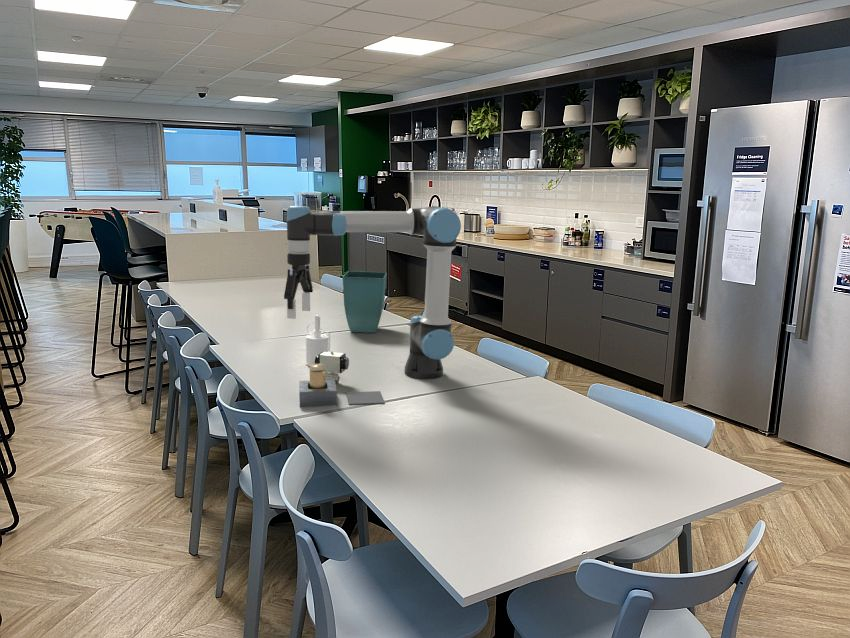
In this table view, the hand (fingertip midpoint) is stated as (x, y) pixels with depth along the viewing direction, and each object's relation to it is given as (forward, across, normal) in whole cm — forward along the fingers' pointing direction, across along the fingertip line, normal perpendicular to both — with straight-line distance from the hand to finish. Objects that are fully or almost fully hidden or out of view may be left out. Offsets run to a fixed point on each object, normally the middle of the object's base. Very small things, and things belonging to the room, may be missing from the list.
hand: (299, 314), depth 217 cm
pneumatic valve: (+27, -12, +8) cm, 31 cm away
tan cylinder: (+27, +8, +10) cm, 30 cm away
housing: (+27, +8, +10) cm, 30 cm away
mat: (+27, +2, +24) cm, 37 cm away
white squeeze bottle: (+27, -34, -5) cm, 44 cm away
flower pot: (+27, -98, -3) cm, 101 cm away
